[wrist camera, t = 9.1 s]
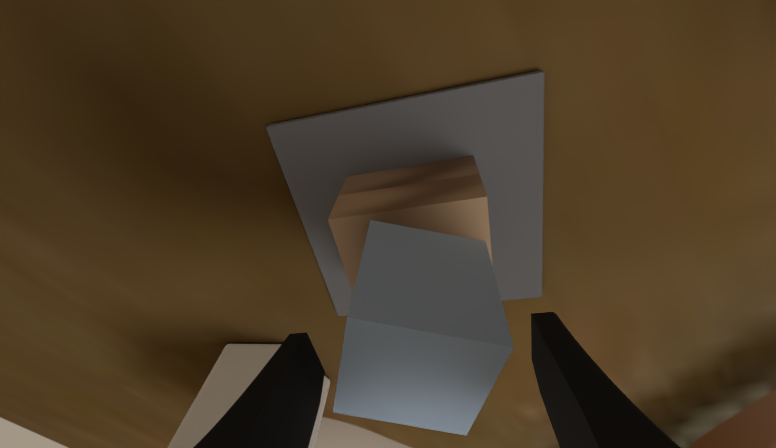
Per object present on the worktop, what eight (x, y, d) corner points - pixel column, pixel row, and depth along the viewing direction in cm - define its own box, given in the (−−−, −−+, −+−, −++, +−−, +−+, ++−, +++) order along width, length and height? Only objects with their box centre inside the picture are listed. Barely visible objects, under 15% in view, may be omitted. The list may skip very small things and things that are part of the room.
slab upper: (479, 173, 15) (487, 196, 13) (489, 286, 18) (496, 316, 16) (338, 196, 16) (327, 219, 14) (370, 298, 19) (364, 328, 17)
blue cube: (485, 241, 14) (513, 347, 10) (454, 322, 16) (466, 435, 12) (370, 220, 14) (347, 317, 10) (356, 304, 16) (332, 412, 12)
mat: (541, 70, 15) (544, 71, 14) (539, 292, 21) (541, 296, 20) (268, 124, 17) (265, 127, 16) (339, 311, 23) (338, 316, 22)
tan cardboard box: (473, 155, 16) (479, 173, 15) (483, 260, 19) (489, 286, 18) (346, 176, 17) (338, 196, 16) (374, 273, 20) (370, 298, 19)
